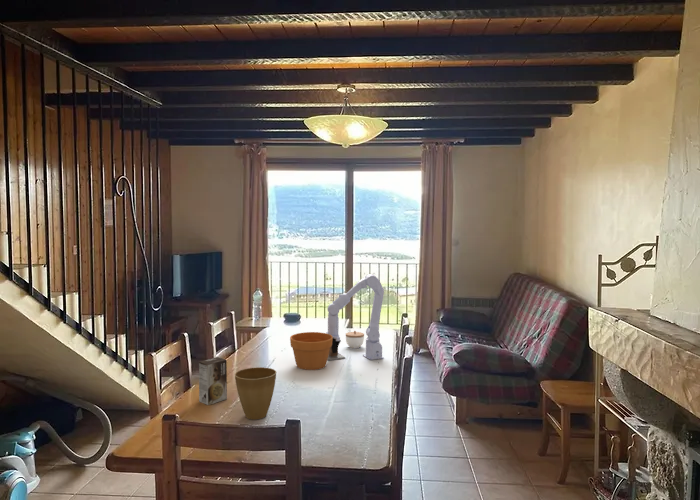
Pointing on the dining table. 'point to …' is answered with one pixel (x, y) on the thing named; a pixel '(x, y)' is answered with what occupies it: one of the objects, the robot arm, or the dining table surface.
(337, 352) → the walnut block
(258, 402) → the plant pot
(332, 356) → the slate tile
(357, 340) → the lidded jar
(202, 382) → the coffee box
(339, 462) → the dining table surface
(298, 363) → the flower pot
